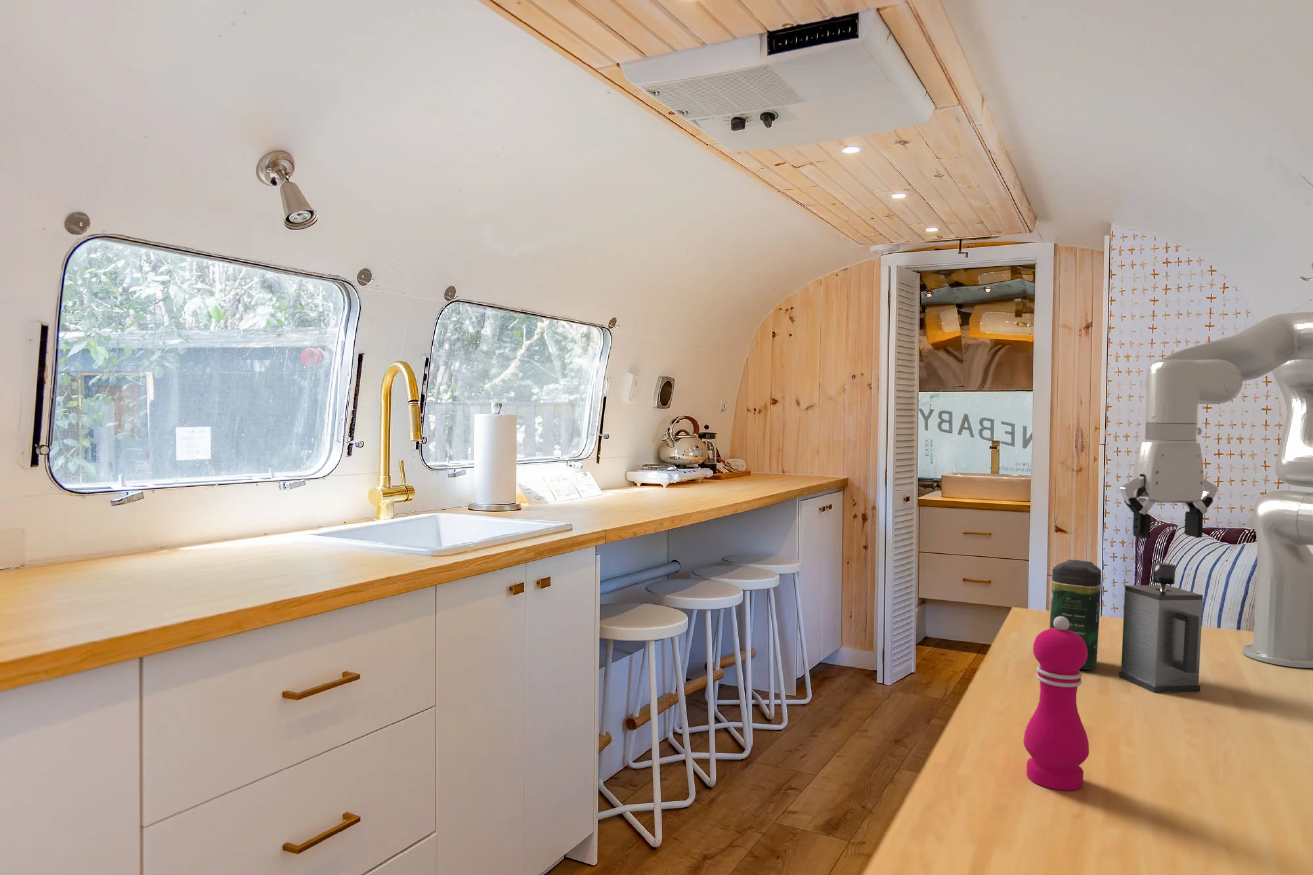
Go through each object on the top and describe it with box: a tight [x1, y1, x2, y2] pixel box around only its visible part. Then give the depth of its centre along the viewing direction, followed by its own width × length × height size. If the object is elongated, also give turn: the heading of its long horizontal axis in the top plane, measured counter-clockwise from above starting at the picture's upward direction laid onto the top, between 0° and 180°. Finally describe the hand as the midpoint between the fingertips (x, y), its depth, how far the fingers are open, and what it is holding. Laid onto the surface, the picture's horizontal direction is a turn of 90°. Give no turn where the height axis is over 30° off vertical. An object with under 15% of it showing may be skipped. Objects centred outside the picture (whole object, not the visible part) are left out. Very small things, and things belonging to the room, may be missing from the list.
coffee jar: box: [1049, 559, 1102, 671], centre depth 157 cm, size 10×8×19 cm
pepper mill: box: [1023, 616, 1090, 792], centre depth 106 cm, size 7×7×20 cm
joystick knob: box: [1152, 562, 1176, 591], centre depth 147 cm, size 6×6×14 cm
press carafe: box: [1118, 584, 1204, 694], centre depth 145 cm, size 8×11×16 cm
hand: (1167, 536), depth 146 cm, fingers open, 9 cm apart
